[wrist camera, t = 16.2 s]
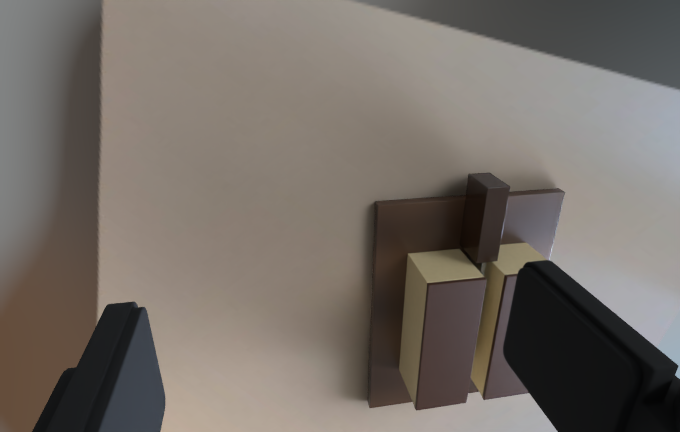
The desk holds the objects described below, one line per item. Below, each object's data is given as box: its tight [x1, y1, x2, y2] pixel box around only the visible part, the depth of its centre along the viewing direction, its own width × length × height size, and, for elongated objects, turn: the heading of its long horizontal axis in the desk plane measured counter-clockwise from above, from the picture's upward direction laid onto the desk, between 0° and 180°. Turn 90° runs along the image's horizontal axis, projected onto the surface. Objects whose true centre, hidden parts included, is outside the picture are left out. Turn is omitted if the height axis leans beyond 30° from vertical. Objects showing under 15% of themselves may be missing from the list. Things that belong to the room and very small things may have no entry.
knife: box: [460, 173, 510, 276], centre depth 40 cm, size 15×2×4 cm, turn 0°
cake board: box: [368, 188, 565, 408], centre depth 45 cm, size 24×18×1 cm
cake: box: [399, 243, 547, 410], centre depth 43 cm, size 14×12×5 cm
